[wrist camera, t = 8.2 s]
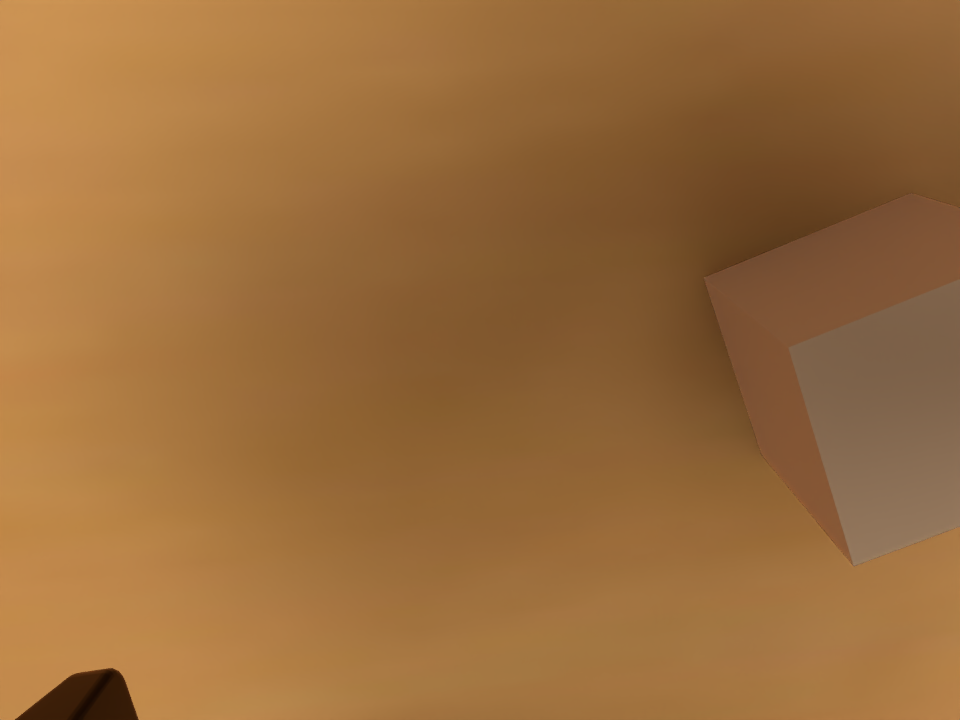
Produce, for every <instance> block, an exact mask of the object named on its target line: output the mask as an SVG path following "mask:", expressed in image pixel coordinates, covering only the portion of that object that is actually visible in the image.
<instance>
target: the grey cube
mask: <svg viewBox="0 0 960 720" xmlns="http://www.w3.org/2000/svg"><path fill="white" fill-rule="evenodd" d="M704 281H705V284H706V287H707V290H708V293H709V296H710V299H711V303H712V306H713V309H714V312H715V315H716V318H717V321H718V324H719V327H720V330H721V333H722V336H723V339H724V342H725V345H726V348H727V351H728V354H729V357H730V361H731V364H732V367H733V370H734V373H735V376H736V379H737V382H738V385H739V388H740V391H741V394H742V397H743V400H744V403H745V406H746V409H747V412H748V415H749V419H750V422H751V425H752V428H753V431H754V434H755V437H756V440H757V443H758V446H759V449H760V452H761V455H762V456H763V457H764V459H765V460H766V461H767V462H768V464H769V465H770V466H771V467H772V468H773V470H774V471H775V472H776V473H777V474H778V476H779V477H780V478H781V479H782V480H783V482H784V483H785V484H786V485H787V486H788V488H789V489H790V490H791V491H792V492H793V494H794V495H795V496H796V497H797V499H798V500H799V501H800V502H801V503H802V505H803V506H804V507H805V508H806V509H807V511H808V512H809V513H810V514H811V515H812V517H813V518H814V519H815V520H816V521H817V523H818V524H819V525H820V526H821V528H822V529H823V530H824V531H825V532H826V534H827V535H828V536H829V537H830V538H831V540H832V541H833V542H834V543H835V544H836V546H837V547H838V548H839V549H840V550H841V552H842V553H843V554H844V555H845V556H846V558H847V559H848V560H849V561H850V563H851V564H852V565H853V566H856V565H859V564H862V563H864V562H867V561H870V560H872V559H875V558H878V557H880V556H883V555H886V554H888V553H891V552H894V551H896V550H899V549H902V548H904V547H907V546H910V545H912V544H915V543H918V542H920V541H923V540H926V539H928V538H931V537H934V536H936V535H939V534H942V533H944V532H947V531H950V530H952V529H955V528H957V527H960V207H957V206H953V205H950V204H947V203H943V202H940V201H937V200H933V199H930V198H926V197H923V196H920V195H916V194H913V193H909V194H907V195H905V196H902V197H900V198H897V199H895V200H892V201H890V202H887V203H885V204H883V205H880V206H878V207H875V208H873V209H870V210H868V211H865V212H863V213H861V214H858V215H856V216H853V217H851V218H848V219H846V220H843V221H841V222H839V223H836V224H834V225H831V226H829V227H826V228H824V229H821V230H819V231H817V232H814V233H812V234H809V235H807V236H804V237H802V238H799V239H797V240H795V241H792V242H790V243H787V244H785V245H782V246H780V247H777V248H775V249H773V250H770V251H768V252H765V253H763V254H760V255H758V256H755V257H753V258H751V259H748V260H746V261H743V262H741V263H738V264H736V265H733V266H731V267H729V268H726V269H724V270H721V271H719V272H716V273H714V274H711V275H709V276H707V277H704Z"/></svg>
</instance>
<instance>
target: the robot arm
mask: <svg viewBox="0 0 960 720" xmlns="http://www.w3.org/2000/svg"><path fill="white" fill-rule="evenodd" d="M15 720H138V717H137V714H136V711H135V708H134V705H133V702H132V699H131V697H130V694H129V691H128V688H127V685H126V682H125V680H124V678H123V676H122V675H121V673H120V672H119V671H117V670H115V669H113V668H108V669H101V670H95V671H88V672H81V673H76V674H74V675H71V676H70V677H68V678H67V679H66V680H64V681H63V682H62V683H61V684H59V685H58V686H57V687H56V688H54V689H53V690H52V691H50V692H49V693H48V694H47V695H45V696H44V697H43V698H42V699H40V700H39V701H38V702H37V703H35V704H34V705H33V706H32V707H30V708H29V709H28V710H26V711H25V712H24V713H23V714H21V715H20V716H19V717H18V718H16V719H15Z"/></svg>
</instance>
